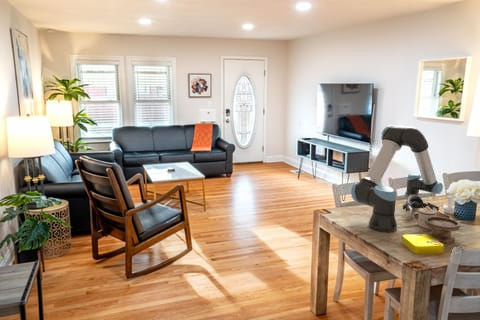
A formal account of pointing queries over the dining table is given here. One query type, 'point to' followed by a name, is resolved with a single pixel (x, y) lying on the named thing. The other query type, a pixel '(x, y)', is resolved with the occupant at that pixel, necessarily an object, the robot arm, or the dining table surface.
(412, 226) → the dining table surface
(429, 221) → the walnut pedestal
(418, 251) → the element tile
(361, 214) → the dining table surface
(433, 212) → the teacup with lid
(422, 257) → the dining table surface
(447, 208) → the figurine
